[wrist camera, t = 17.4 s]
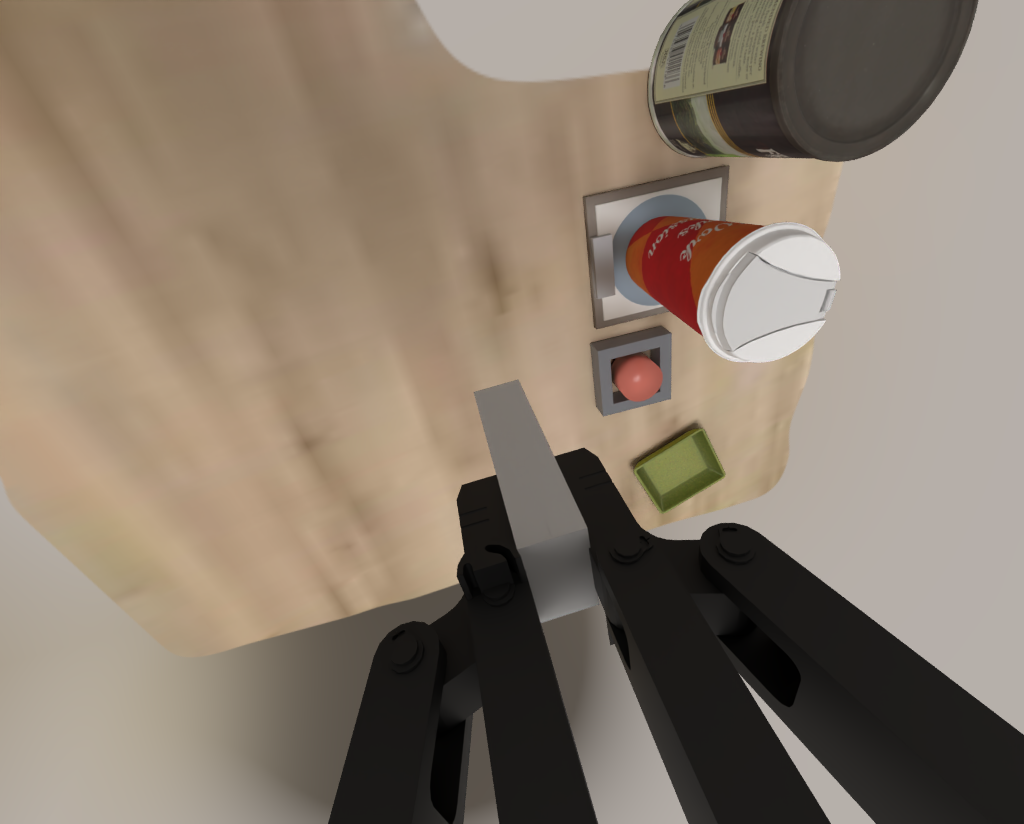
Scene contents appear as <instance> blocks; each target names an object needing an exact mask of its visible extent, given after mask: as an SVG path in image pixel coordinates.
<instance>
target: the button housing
mask: <svg viewBox="0 0 1024 824" xmlns="http://www.w3.org/2000/svg"><path fill="white" fill-rule="evenodd" d="M671 336H672V333H671V332H669V331H668V330H666V329H665V328H664V327H662V326H659V327H655V328H650V329H646V330H642V331H638V332H634V333H630V334H626V335H622V336H618V337H614V338H610V339H606V340H602V341H598V342H594V343H590V344H591V355H592V366H593V377H594V388H595V399H596V407H597V408H598V410H599V411H600V412H601V414H602V415H603V416H607V415H611V414H614V413H618V412H622V411H626V410H630V409H634V408H638V407H641V406H645V405H649V404H653V403H657V402H661V401H665V400H668V399H671ZM650 349H651V360H652V361H653V362H654V363H655V364H656V365H657V366H659V368H660V369H661V371H662V374H663V380H662V384H661V386H660V388H659V390H658V391H657V392H656V393H655V394H654V395H653V396H652V397H651V398H649V399H647V400H644V401H640V402H635V401H631V400H629V399H627V398H626V397H625V396H624V395H623V394H622V393H621V391H618V392H614V393H613V391H612V377H611V362H610V359H614V358H618V357H622V356H626V355H630V354H634V353H638V352H642V351H646V350H650Z"/></svg>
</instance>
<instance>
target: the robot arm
mask: <svg viewBox="0 0 1024 824" xmlns="http://www.w3.org/2000/svg"><path fill="white" fill-rule="evenodd" d="M474 395H475V398H476V402H477V406H478V409H479V413H480V417H481V420H482V424H483V428H484V431H485V435H486V438H487V442H488V446H489V449H490V453H491V457H492V460H493V464H494V467H495V471H496V475H494V476H491V477H487V478H484V479H480V480H477V481H474V482H470V483H467V484H464V485H462V486H461V489H460V492H459V495H458V498H457V506H458V513H459V517H460V518H459V519H460V526H461V533H462V539H463V546H464V553H465V554H464V555H463V557H462V558H461V560H460V562H459V564H458V569H457V578H458V580H459V583H460V585H461V587H462V589H463V592H464V595H463V597H462V599H461V600H460V601H459V603H458V604H457V605H456V606H455V607H454V608H453V609H452V610H451V611H449V612H448V613H447V614H445V615H444V616H442V617H441V618H439V619H438V620H436V621H435V622H433V623H432V624H430V625H428V624H426V623H424V622H416V621H412V622H409V623H405V624H402V625H400V626H398V627H397V628H395V629H394V630H392V631H391V632H389V633H388V634H387V636H386V637H385V638H384V639H383V640H382V642H381V643H380V644H379V646H378V649H377V651H376V653H375V655H374V658H373V662H372V665H371V669H370V673H369V677H368V680H367V684H366V687H365V691H364V695H363V698H362V702H361V706H360V709H359V713H358V717H357V720H356V724H355V728H354V731H353V735H352V738H351V743H350V746H349V750H348V753H347V757H346V760H345V764H344V768H343V772H342V775H341V779H340V782H339V786H338V790H337V793H336V797H335V800H334V804H333V808H332V811H331V815H330V819H329V822H328V824H463V821H464V810H465V798H466V787H467V776H468V765H469V753H470V742H471V731H472V730H471V729H472V719H473V713H474V712H475V711H477V710H478V709H479V708H481V707H482V706H483V713H484V720H485V727H486V734H487V741H488V748H489V755H490V762H491V769H492V775H493V782H494V789H495V797H496V804H497V811H498V818H499V824H598V822H597V818H596V815H595V811H594V808H593V804H592V801H591V797H590V794H589V790H588V787H587V783H586V780H585V776H584V773H583V769H582V765H581V762H580V759H579V755H578V752H577V748H576V744H575V741H574V737H573V734H572V730H571V727H570V723H569V720H568V716H567V713H566V709H565V706H564V703H563V699H562V695H561V692H560V689H559V685H558V681H557V678H556V674H555V671H554V668H553V664H552V660H551V657H550V653H549V650H548V647H547V643H546V640H545V636H544V633H543V629H542V626H541V623H542V622H545V621H549V620H551V619H554V618H558V617H561V616H564V615H567V614H571V613H574V612H577V611H580V610H583V609H586V608H589V607H592V606H596V605H599V599H600V601H601V604H602V606H603V608H604V610H605V614H606V621H607V627H608V634H609V640H610V645H613V644H615V646H616V648H617V651H618V653H619V655H620V658H621V660H622V663H623V665H624V667H625V670H626V673H627V675H628V677H629V680H630V682H631V685H632V687H633V690H634V692H635V694H636V697H637V699H638V702H639V704H640V707H641V709H642V711H643V714H644V716H645V719H646V721H647V723H648V726H649V729H650V731H651V733H652V736H653V738H654V740H655V743H656V746H657V748H658V750H659V753H660V755H661V758H662V760H663V763H664V765H665V767H666V770H667V772H668V775H669V777H670V779H671V782H672V784H673V787H674V789H675V792H676V794H677V797H678V799H679V802H680V804H681V806H682V809H683V811H684V814H685V816H686V819H687V821H688V823H689V824H831V823H830V821H829V820H828V818H827V817H826V815H825V813H824V812H823V810H822V808H821V807H820V805H819V804H818V802H817V800H816V799H815V797H814V796H813V794H812V792H811V791H810V789H809V787H808V786H807V784H806V782H805V781H804V779H803V778H802V776H801V775H800V773H799V771H798V769H797V768H796V766H795V765H794V763H793V762H792V760H791V758H790V757H789V755H788V753H787V752H786V750H785V748H784V747H783V745H782V743H781V742H780V740H779V738H778V737H777V735H776V734H775V732H774V730H773V729H772V727H771V725H770V724H769V722H768V721H767V719H766V717H765V716H764V714H763V713H762V711H761V709H760V708H759V706H758V705H757V703H756V701H755V700H754V698H753V696H752V695H751V693H750V691H749V690H748V688H747V686H746V685H745V683H744V682H743V680H742V678H741V677H740V675H741V676H742V677H743V678H744V679H745V681H746V682H747V683H748V684H749V685H750V686H751V687H752V688H753V689H754V690H755V692H756V693H757V694H758V695H759V696H760V697H761V698H762V699H763V700H764V701H765V702H766V704H767V705H768V706H769V707H770V708H771V709H772V710H773V711H774V712H775V713H776V714H777V715H778V717H779V718H780V719H781V720H782V721H783V722H784V723H785V724H786V725H787V727H788V728H789V729H790V730H791V731H792V732H793V733H794V734H795V735H796V736H797V737H798V738H799V740H800V741H801V742H802V743H803V744H804V745H805V746H806V747H807V748H808V750H809V751H810V752H811V753H812V754H813V755H814V756H815V757H816V758H817V759H818V760H819V761H820V763H821V764H822V765H823V766H824V767H825V768H826V769H827V770H828V771H829V773H830V774H831V775H832V776H833V777H834V778H835V779H836V780H837V781H838V782H839V784H840V785H841V786H842V787H843V788H844V789H845V790H846V791H847V792H848V793H849V794H850V796H851V797H852V798H853V799H854V800H855V801H856V802H857V803H858V804H859V805H860V806H861V808H862V809H863V810H864V811H865V812H866V813H867V814H868V815H869V816H870V817H871V819H872V820H873V821H874V822H875V823H876V824H1024V735H1023V734H1022V733H1020V732H1019V731H1018V730H1017V729H1015V728H1014V727H1013V726H1011V725H1010V724H1009V723H1007V722H1006V721H1005V720H1003V719H1002V718H1001V717H999V716H998V715H997V714H996V713H994V712H993V711H992V710H990V709H989V708H988V707H987V706H985V705H984V704H982V703H981V702H980V701H979V700H977V699H976V698H975V697H973V696H972V695H971V694H969V693H968V692H967V691H966V690H964V689H963V688H962V687H960V686H959V685H958V684H956V683H955V682H954V681H952V680H951V679H950V678H948V677H947V676H946V675H945V674H943V673H942V672H941V671H939V670H938V669H937V668H935V667H934V666H933V665H931V664H930V663H929V662H927V661H926V660H925V659H924V658H922V657H921V656H920V655H918V654H917V653H916V652H914V651H913V650H912V649H911V648H909V647H908V646H907V645H905V644H904V643H903V642H901V641H900V640H899V639H897V638H896V637H895V636H893V635H892V634H891V633H890V632H888V631H887V630H886V629H884V628H883V627H882V626H880V625H879V624H878V623H876V622H875V621H874V620H872V619H871V618H870V617H868V616H867V615H866V614H865V613H863V612H862V611H861V610H859V609H858V608H857V607H855V606H854V605H853V604H852V603H850V602H849V601H848V600H846V599H845V598H844V597H842V596H841V595H840V594H838V593H837V592H836V591H834V590H833V589H832V588H831V587H829V586H828V585H827V584H825V583H824V582H823V581H821V580H820V579H819V578H818V577H816V576H815V575H814V574H812V573H811V572H810V571H808V570H807V569H806V568H804V567H803V566H802V565H801V564H799V563H798V562H797V561H795V560H794V559H793V558H791V557H790V556H789V555H787V554H786V553H785V552H783V551H782V550H781V549H780V548H778V547H777V546H775V545H774V544H773V543H771V542H770V541H769V540H767V539H766V538H765V537H764V536H762V535H761V534H760V533H758V532H757V531H755V530H753V529H751V528H749V527H748V526H744V525H740V524H736V523H720V524H717V525H714V526H711V527H709V528H708V529H707V530H706V531H705V532H704V533H703V534H702V536H701V539H700V540H666V539H662V538H658V537H655V536H654V535H652V534H650V533H649V532H647V531H645V530H644V529H643V528H641V527H640V525H639V524H638V523H637V522H636V520H635V518H634V517H633V515H632V513H631V512H630V510H629V508H628V507H627V505H626V503H625V502H624V500H623V498H622V497H621V495H620V493H619V492H618V490H617V488H616V487H615V485H614V483H612V480H611V478H610V477H609V475H608V473H607V472H606V470H605V468H604V466H603V465H602V463H601V461H600V460H599V458H598V457H597V456H596V455H594V454H593V453H591V452H590V451H588V450H587V449H585V448H581V449H578V450H574V451H571V452H568V453H564V454H561V455H558V456H554V455H553V453H552V451H551V449H550V446H549V444H548V442H547V440H546V438H545V436H544V434H543V431H542V429H541V427H540V425H539V423H538V421H537V419H536V416H535V414H534V412H533V410H532V408H531V406H530V404H529V401H528V399H527V397H526V395H525V393H524V391H523V388H522V386H521V384H520V382H519V380H515V381H511V382H508V383H504V384H501V385H497V386H494V387H490V388H486V389H483V390H479V391H476V392H474ZM598 596H599V599H598ZM739 674H740V675H739Z"/></svg>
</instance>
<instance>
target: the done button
mask: <svg viewBox="0 0 1024 824" xmlns="http://www.w3.org/2000/svg"><path fill="white" fill-rule="evenodd" d="M611 377H612V382H613V383H614V384H615V386H616V387H617V388H618V389H619V390H620V391H621V393H622V394H623V395H624V396H625V397H626V398H627V399H629V400H631V401H635V402H640V401H644V400H647V399H649V398H651V397H652V396H653V395H654V394H655V393H656V392H657V391H658V390H659V388H660V386H661V384H662V380H663V374H662V371H661V369H660V368H659V366H657V365H656V364H655V363H654V362H653V361H652V360H651V359H649V358H648V357H647V356H646V355H645V354H644V353H642V352H638V353H634V354H630V355H626V356H622V357H618V358H617V359H616V360H615V361H614V362H613V364H612V366H611Z"/></svg>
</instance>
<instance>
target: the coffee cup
mask: <svg viewBox="0 0 1024 824" xmlns="http://www.w3.org/2000/svg"><path fill="white" fill-rule="evenodd" d="M626 268H627V271H628V274H629V276H630V277H631V279H632V280H633V281H634V282H635V283H636V284H637V285H638V286H639V287H640V288H641V289H642V290H644V291H645V292H646V293H647V294H649V295H650V296H651V297H652V298H654V299H655V300H656V301H657V302H659V303H660V304H661V305H663V306H664V307H665V308H666V309H668V310H669V311H670V312H672V313H673V314H674V315H676V316H677V317H678V318H680V319H681V320H682V321H683V322H685V323H686V324H687V325H689V326H690V327H691V328H693V329H694V330H695V331H696V332H698V333H699V334H700V335H702V336H703V337H704V340H705V341H706V343H707V344H708V346H709V347H710V348H711V349H712V350H713V351H714V352H715V353H716V354H718V355H719V356H721V357H722V358H725V359H727V360H730V361H735V362H753V363H763V362H769V361H774V360H777V359H780V358H783V357H785V356H787V355H789V354H791V353H793V352H794V351H796V350H798V349H799V348H800V347H802V346H803V345H804V344H806V343H807V342H808V341H809V340H810V339H811V338H812V337H813V336H814V335H815V334H816V333H817V332H818V331H819V329H820V328H821V327H822V326H823V324H824V322H825V321H826V320H825V319H824V316H825V313H826V311H829V310H830V308H831V305H832V302H833V299H834V297H835V294H836V291H837V290H835V289H834V287H835V285H836V282H837V281H834V280H840V267H839V262H838V260H837V257H836V255H835V253H834V252H833V250H832V249H831V247H830V246H829V245H828V244H827V243H825V242H824V241H823V239H822V238H821V236H820V235H819V234H818V233H817V232H815V231H814V230H813V229H811V228H809V227H808V226H806V225H802V224H799V223H794V222H781V223H774V224H770V225H767V226H762V225H753V224H744V223H735V222H726V221H717V220H708V219H699V218H689V217H677V216H662V217H657V218H654V219H651V220H649V221H648V222H646V223H645V224H643V225H642V226H641V227H640V228H639V229H638V230H637V231H636V232H635V234H634V235H633V237H632V238H631V240H630V242H629V245H628V248H627V251H626Z"/></svg>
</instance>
